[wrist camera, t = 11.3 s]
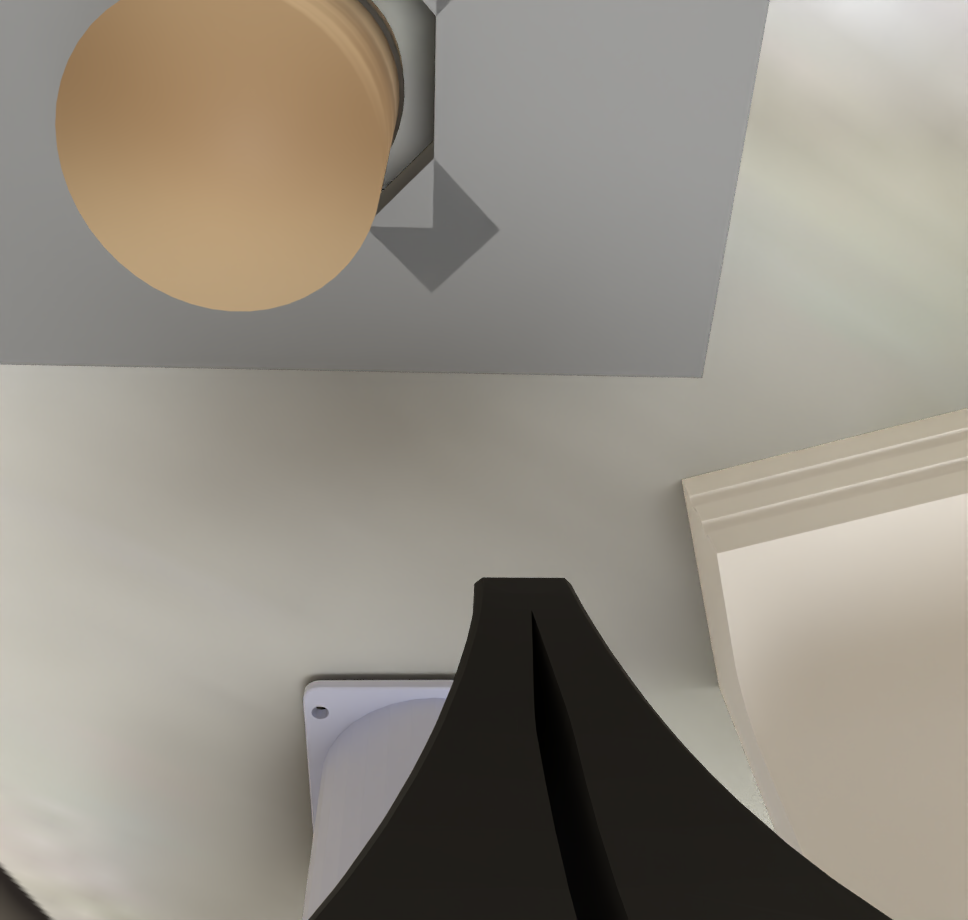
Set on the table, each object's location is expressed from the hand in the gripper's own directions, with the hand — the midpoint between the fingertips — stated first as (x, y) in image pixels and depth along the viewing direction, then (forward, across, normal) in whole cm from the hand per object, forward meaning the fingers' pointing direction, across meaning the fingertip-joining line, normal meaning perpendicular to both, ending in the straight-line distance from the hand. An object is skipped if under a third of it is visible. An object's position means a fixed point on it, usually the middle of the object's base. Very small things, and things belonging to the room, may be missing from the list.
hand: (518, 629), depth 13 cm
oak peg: (+11, +4, -6) cm, 13 cm away
